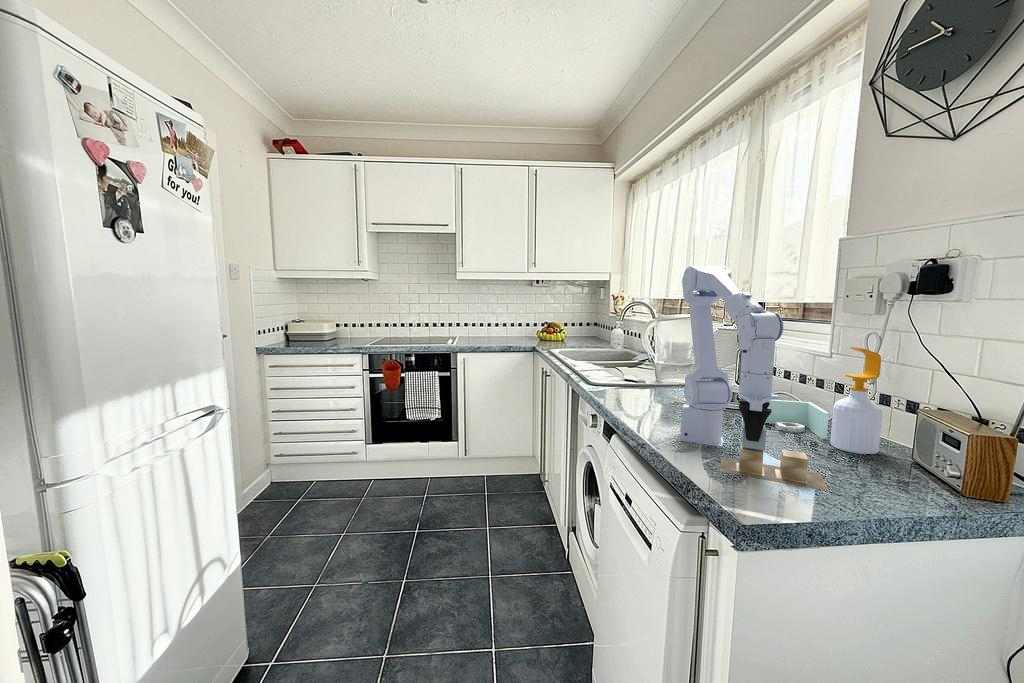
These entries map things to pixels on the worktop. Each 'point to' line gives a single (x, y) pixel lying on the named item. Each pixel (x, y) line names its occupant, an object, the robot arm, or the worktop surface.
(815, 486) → the board
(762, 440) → the slate grey cube
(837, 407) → the soap bottle
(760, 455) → the pillar
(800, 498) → the worktop surface
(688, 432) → the robot arm
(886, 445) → the worktop surface
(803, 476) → the tan wooden cube
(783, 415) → the right angle wall
